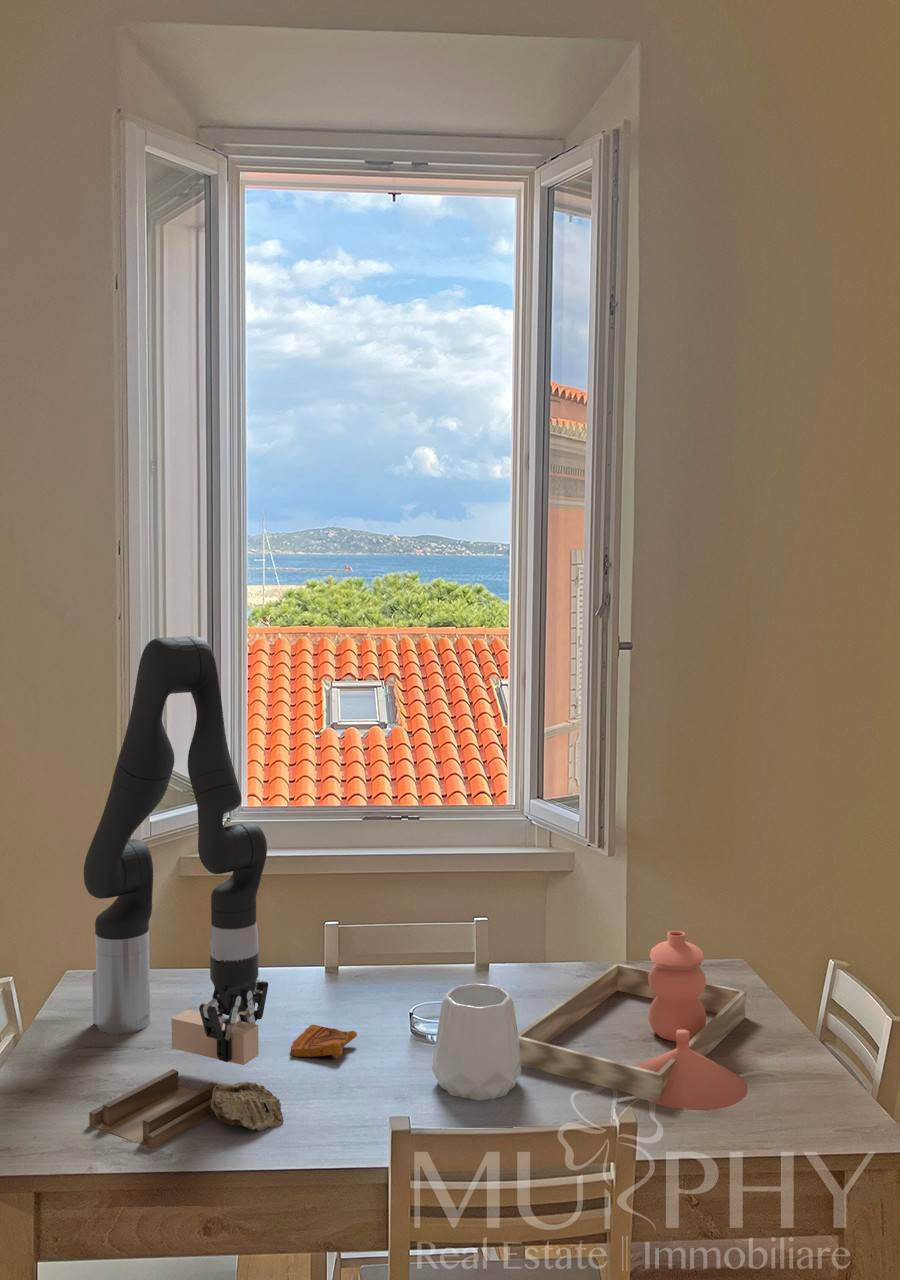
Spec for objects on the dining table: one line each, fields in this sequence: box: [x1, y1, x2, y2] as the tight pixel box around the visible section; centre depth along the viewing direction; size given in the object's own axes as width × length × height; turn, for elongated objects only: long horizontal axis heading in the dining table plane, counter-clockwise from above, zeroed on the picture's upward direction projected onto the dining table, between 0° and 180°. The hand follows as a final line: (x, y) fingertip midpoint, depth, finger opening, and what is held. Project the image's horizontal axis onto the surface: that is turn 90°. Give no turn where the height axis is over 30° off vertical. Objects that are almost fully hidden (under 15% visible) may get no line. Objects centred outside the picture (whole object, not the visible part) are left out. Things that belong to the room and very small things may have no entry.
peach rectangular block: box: [171, 1009, 260, 1066], centre depth 192 cm, size 14×4×5 cm, turn 65°
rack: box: [88, 1068, 218, 1149], centre depth 179 cm, size 13×16×4 cm
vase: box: [431, 983, 522, 1101], centre depth 190 cm, size 14×14×15 cm
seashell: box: [211, 1081, 284, 1132], centre depth 177 cm, size 11×7×10 cm
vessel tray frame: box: [518, 963, 747, 1102], centre depth 208 cm, size 26×41×5 cm, turn 148°
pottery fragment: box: [290, 1024, 358, 1059], centre depth 204 cm, size 10×5×10 cm
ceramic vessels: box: [635, 930, 749, 1111], centre depth 198 cm, size 35×21×19 cm, turn 172°
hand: (235, 1054), depth 191 cm, fingers closed on peach rectangular block, 4 cm apart
